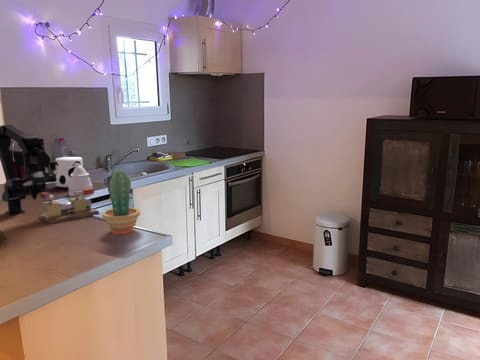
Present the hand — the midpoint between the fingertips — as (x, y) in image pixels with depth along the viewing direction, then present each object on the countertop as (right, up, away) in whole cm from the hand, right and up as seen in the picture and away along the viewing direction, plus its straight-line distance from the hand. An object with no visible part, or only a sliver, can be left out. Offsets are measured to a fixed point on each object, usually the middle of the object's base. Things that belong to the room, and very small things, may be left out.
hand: (34, 199), depth 176 cm
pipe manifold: (+13, -7, +7) cm, 16 cm away
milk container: (-13, +4, +69) cm, 71 cm away
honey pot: (0, 0, +50) cm, 50 cm away
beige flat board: (+13, -8, +7) cm, 17 cm away
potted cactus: (+43, -12, -13) cm, 47 cm away
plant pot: (+36, -8, +9) cm, 38 cm away
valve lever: (+5, 0, +1) cm, 5 cm away
